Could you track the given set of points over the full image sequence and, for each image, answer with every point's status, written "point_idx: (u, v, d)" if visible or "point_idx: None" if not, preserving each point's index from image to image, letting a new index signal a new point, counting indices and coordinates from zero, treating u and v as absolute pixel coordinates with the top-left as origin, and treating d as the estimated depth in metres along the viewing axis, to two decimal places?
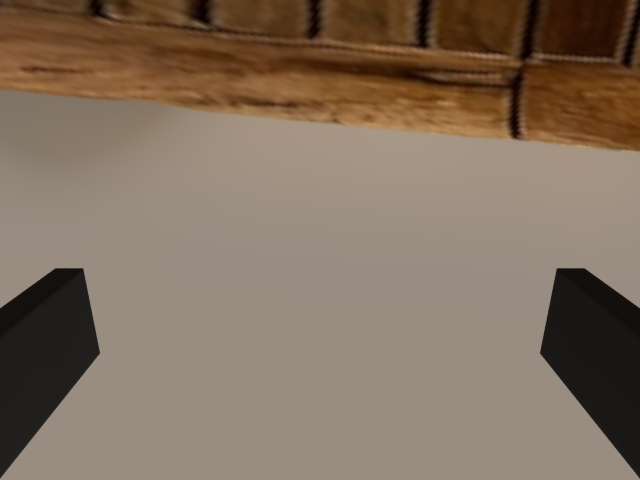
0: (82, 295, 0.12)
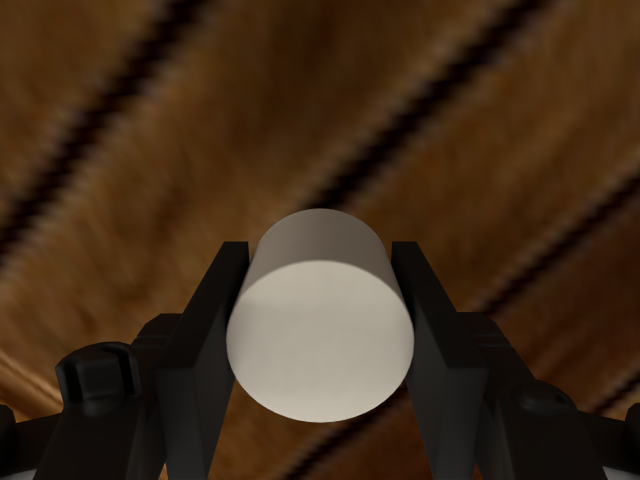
0: (247, 264, 0.14)
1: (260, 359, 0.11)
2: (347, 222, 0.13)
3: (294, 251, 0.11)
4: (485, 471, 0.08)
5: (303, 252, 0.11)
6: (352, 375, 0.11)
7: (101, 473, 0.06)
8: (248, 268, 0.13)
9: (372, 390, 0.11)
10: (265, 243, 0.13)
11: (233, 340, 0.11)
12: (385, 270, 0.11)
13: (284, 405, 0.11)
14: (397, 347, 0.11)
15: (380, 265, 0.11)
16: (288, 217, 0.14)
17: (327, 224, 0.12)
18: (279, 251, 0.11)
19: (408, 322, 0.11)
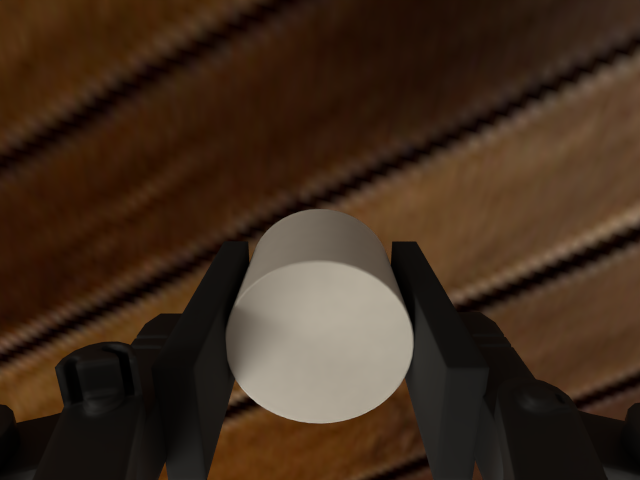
0: (247, 264, 0.14)
1: (259, 359, 0.11)
2: (346, 223, 0.13)
3: (293, 252, 0.11)
4: (485, 471, 0.08)
5: (303, 253, 0.11)
6: (351, 376, 0.11)
7: (101, 473, 0.06)
8: (247, 269, 0.13)
9: (371, 391, 0.11)
10: (264, 244, 0.13)
11: (232, 341, 0.11)
12: (384, 271, 0.11)
13: (283, 406, 0.11)
14: (396, 348, 0.11)
15: (379, 266, 0.11)
16: (287, 217, 0.14)
17: (327, 224, 0.12)
18: (278, 251, 0.11)
19: (407, 323, 0.11)
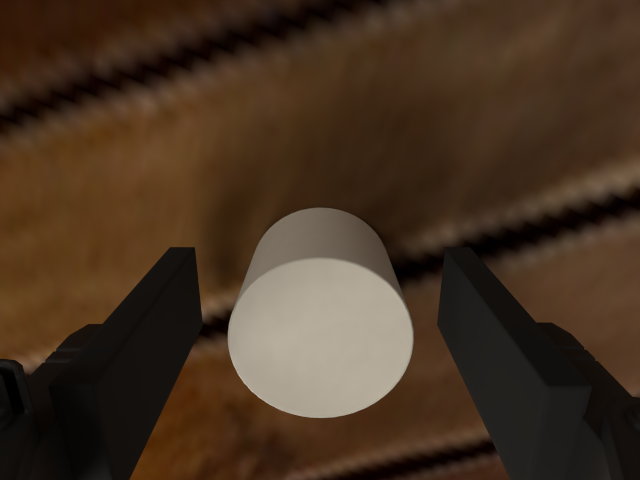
0: (194, 271, 0.14)
1: (261, 355, 0.11)
2: (347, 221, 0.13)
3: (295, 249, 0.11)
4: None
5: (305, 250, 0.11)
6: (352, 371, 0.11)
7: None
8: (249, 266, 0.13)
9: (372, 386, 0.11)
10: (266, 241, 0.13)
11: (235, 337, 0.11)
12: (385, 268, 0.11)
13: (285, 401, 0.12)
14: (397, 343, 0.11)
15: (380, 263, 0.11)
16: (289, 216, 0.14)
17: (328, 223, 0.13)
18: (280, 249, 0.11)
19: (407, 319, 0.11)
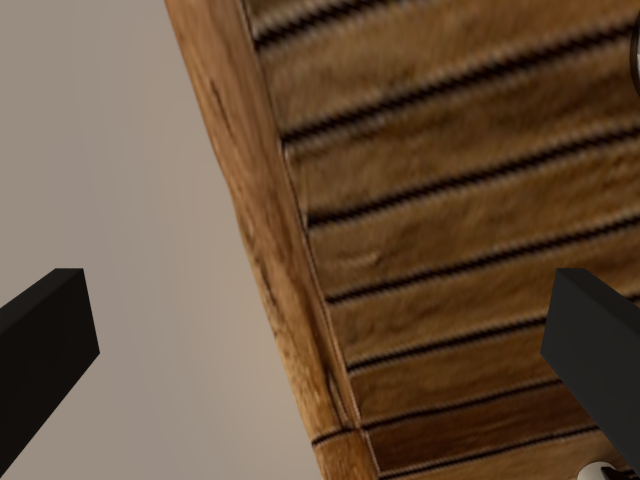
0: (82, 295, 0.12)
1: None
2: None
3: None
4: None
5: None
6: None
7: None
8: None
9: None
10: (593, 475, 0.53)
11: None
12: None
13: None
14: None
15: None
16: (593, 464, 0.54)
17: None
18: None
19: None
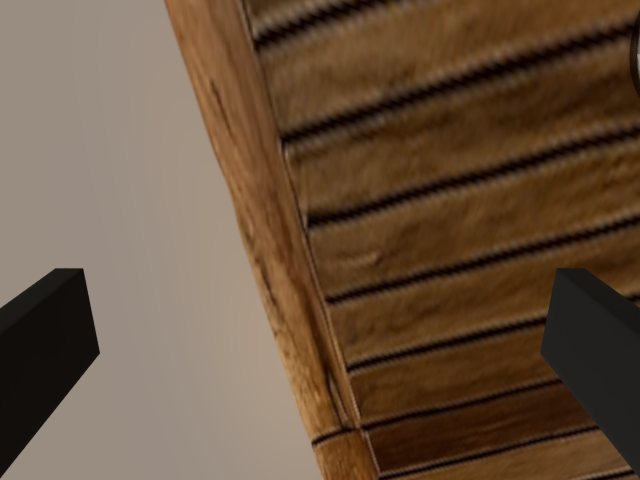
0: (82, 295, 0.12)
1: None
2: None
3: None
4: None
5: None
6: None
7: None
8: None
9: None
10: None
11: None
12: None
13: None
14: None
15: None
16: None
17: None
18: None
19: None
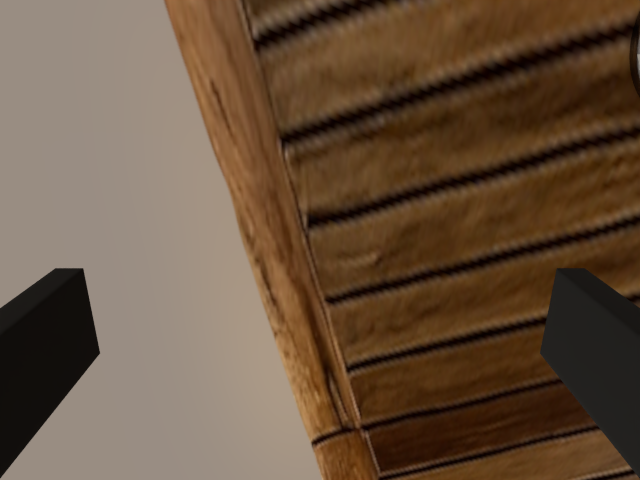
0: (82, 295, 0.12)
1: None
2: None
3: None
4: None
5: None
6: None
7: None
8: None
9: None
10: None
11: None
12: None
13: None
14: None
15: None
16: None
17: None
18: None
19: None
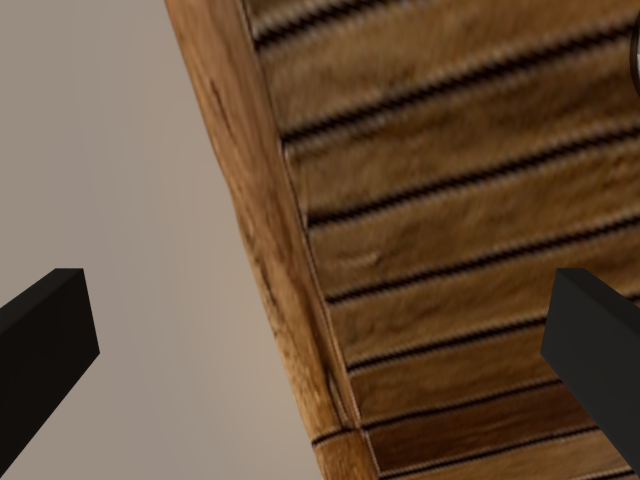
0: (82, 295, 0.12)
1: None
2: None
3: None
4: None
5: None
6: None
7: None
8: None
9: None
10: None
11: None
12: None
13: None
14: None
15: None
16: None
17: None
18: None
19: None
